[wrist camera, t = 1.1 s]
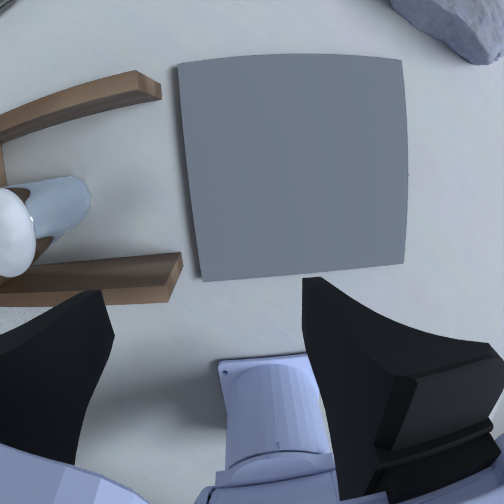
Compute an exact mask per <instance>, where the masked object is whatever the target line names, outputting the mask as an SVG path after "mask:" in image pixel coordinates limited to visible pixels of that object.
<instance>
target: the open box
mask: <svg viewBox="0 0 504 504" xmlns="http://www.w3.org/2000/svg"><path fill="white" fill-rule="evenodd" d="M161 99H162V93H161V84H160V83H158V82H156V81H154V80H152V79H151V78H149V77H147V76H145V75H143V74H142V73H140V72H138V71H136V70H133V71H129V72H125V73H121V74H117V75H113V76H109V77H105V78H101V79H98V80H94V81H91V82H87V83H84V84H81V85H78V86H74V87H71V88H68V89H65V90H62V91H59V92H56V93H54V94H51V95H48V96H45V97H43V98H40V99H37V100H35V101H32V102H30V103H27V104H25V105H22V106H20V107H17V108H15V109H13V110H10V111H8V112H6V113H4V114H1V115H0V187H5V186H7V182H6V176H5V169H4V161H3V153H2V143H5V142H7V141H10V140H13V139H15V138H18V137H21V136H24V135H26V134H29V133H32V132H35V131H38V130H41V129H44V128H47V127H50V126H53V125H56V124H60V123H63V122H66V121H70V120H73V119H77V118H80V117H84V116H88V115H92V114H96V113H99V112H104V111H108V110H112V109H116V108H121V107H125V106H130V105H135V104H139V103H145V102H150V101H155V100H161ZM182 268H183V261H182V255H181V252H178V253H167V254H156V255H144V256H133V257H122V258H111V259H100V260H89V261H78V262H68V263H57V264H46V265H36V266H30V267H29V268H28V269H27V270H26V271H25V272H24V273H22V274H21V275H18V276H16V277H5V276H1V275H0V307H55V306H57V305H58V304H60V303H62V302H64V301H65V300H67V299H69V298H71V297H73V296H75V295H77V294H79V293H81V292H83V291H86V290H101V292H102V296H103V299H104V303H105V305H125V304H147V303H166V302H168V301H169V299H170V296H171V294H172V292H173V289H174V287H175V285H176V282H177V280H178V278H179V275H180V273H181V271H182Z"/></svg>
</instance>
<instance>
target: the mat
mask: <svg viewBox="0 0 504 504" xmlns="http://www.w3.org/2000/svg"><path fill="white" fill-rule="evenodd" d="M178 78H179V90H180V102H181V113H182V124H183V134H184V144H185V153H186V163H187V171H188V180H189V188H190V196H191V204H192V212H193V219H194V227H195V234H196V241H197V248H198V255H199V262H200V268H201V275H202V281H203V282H211V281H224V280H237V279H249V278H261V277H272V276H284V275H295V274H306V273H316V272H326V271H337V270H347V269H356V268H366V267H375V266H385V265H394V264H403V263H404V252H405V240H406V225H407V203H408V137H407V116H406V101H405V89H404V78H403V69H402V61H401V60H397V59H388V58H379V57H368V56H355V55H337V54H271V55H253V56H239V57H228V58H219V59H210V60H202V61H195V62H188V63H182V64H178Z"/></svg>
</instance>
